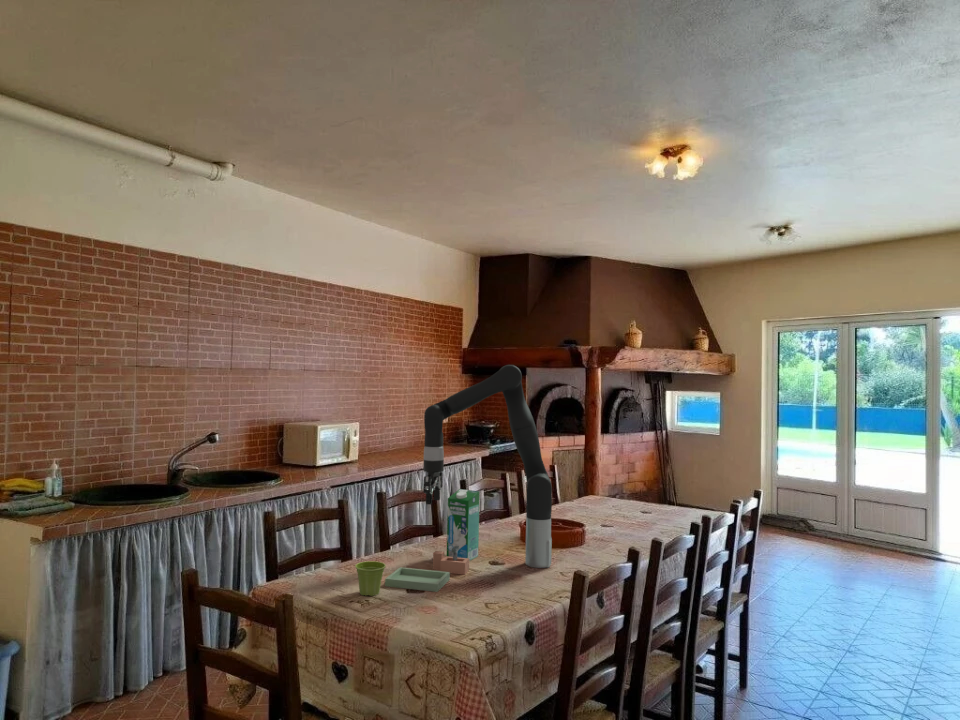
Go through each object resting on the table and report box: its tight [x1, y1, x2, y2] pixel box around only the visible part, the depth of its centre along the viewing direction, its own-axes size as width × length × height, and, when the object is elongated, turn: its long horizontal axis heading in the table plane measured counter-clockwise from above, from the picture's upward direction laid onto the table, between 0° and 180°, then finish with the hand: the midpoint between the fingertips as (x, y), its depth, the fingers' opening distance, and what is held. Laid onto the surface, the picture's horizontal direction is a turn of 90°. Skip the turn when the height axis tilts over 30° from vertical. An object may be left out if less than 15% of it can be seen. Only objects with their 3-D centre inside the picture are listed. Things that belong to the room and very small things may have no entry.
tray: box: [384, 566, 451, 593], centre depth 205 cm, size 18×13×2 cm
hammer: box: [452, 546, 459, 561], centre depth 219 cm, size 2×5×8 cm, turn 166°
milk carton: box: [446, 488, 481, 562], centre depth 236 cm, size 9×9×25 cm
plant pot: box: [354, 560, 387, 597], centre depth 194 cm, size 9×9×9 cm
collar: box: [432, 550, 470, 575], centre depth 219 cm, size 12×6×6 cm, turn 76°
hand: (433, 502), depth 230 cm, fingers open, 8 cm apart
